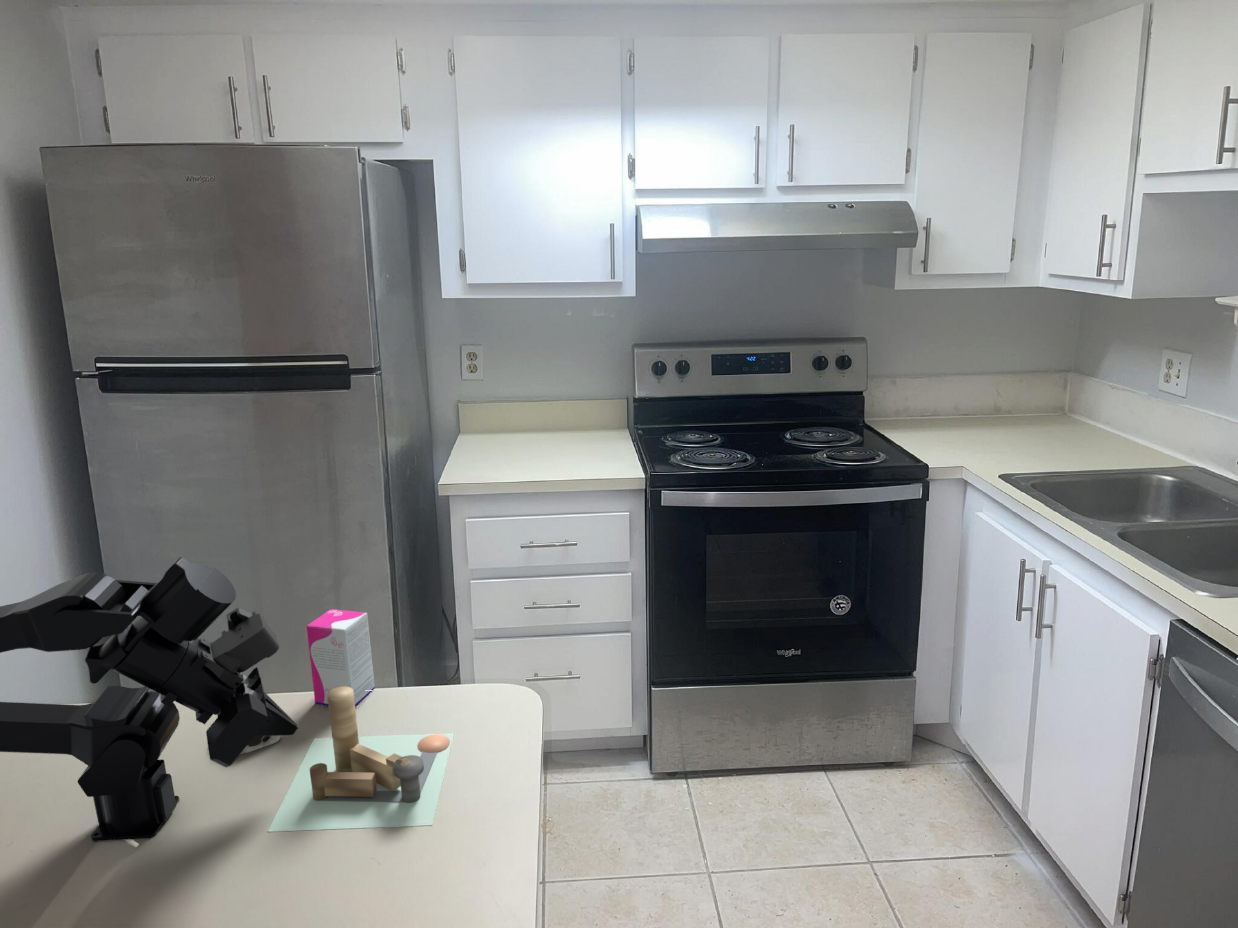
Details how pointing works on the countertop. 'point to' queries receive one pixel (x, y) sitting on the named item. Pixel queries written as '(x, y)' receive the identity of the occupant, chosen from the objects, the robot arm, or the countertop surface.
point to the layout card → (366, 811)
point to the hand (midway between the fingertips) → (295, 729)
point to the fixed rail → (355, 784)
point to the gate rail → (358, 756)
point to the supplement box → (340, 654)
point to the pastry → (260, 742)
